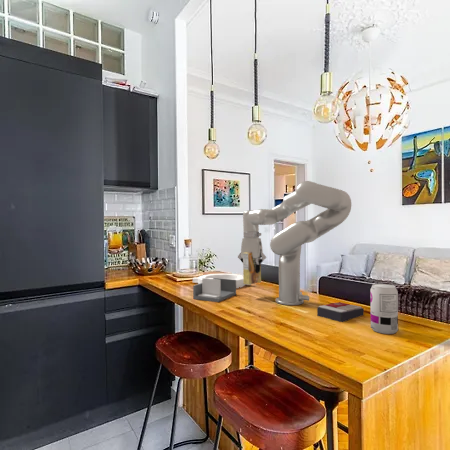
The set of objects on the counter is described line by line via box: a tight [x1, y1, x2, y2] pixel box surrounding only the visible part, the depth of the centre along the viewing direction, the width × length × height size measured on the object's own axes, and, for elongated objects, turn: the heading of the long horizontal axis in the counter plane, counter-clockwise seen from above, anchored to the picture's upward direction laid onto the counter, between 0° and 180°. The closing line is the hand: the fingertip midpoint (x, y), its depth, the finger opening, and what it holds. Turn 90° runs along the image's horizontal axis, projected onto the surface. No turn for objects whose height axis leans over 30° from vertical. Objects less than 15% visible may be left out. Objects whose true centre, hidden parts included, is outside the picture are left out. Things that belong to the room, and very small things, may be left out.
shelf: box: [192, 278, 237, 303], centre depth 159 cm, size 14×18×10 cm
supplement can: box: [369, 283, 399, 335], centre depth 107 cm, size 8×8×15 cm
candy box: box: [242, 253, 262, 286], centre depth 158 cm, size 9×4×15 cm, turn 133°
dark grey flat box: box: [316, 301, 365, 323], centre depth 125 cm, size 11×4×15 cm
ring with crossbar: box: [192, 273, 252, 289], centre depth 191 cm, size 28×28×5 cm
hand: (252, 271), depth 158 cm, fingers closed on candy box, 5 cm apart
